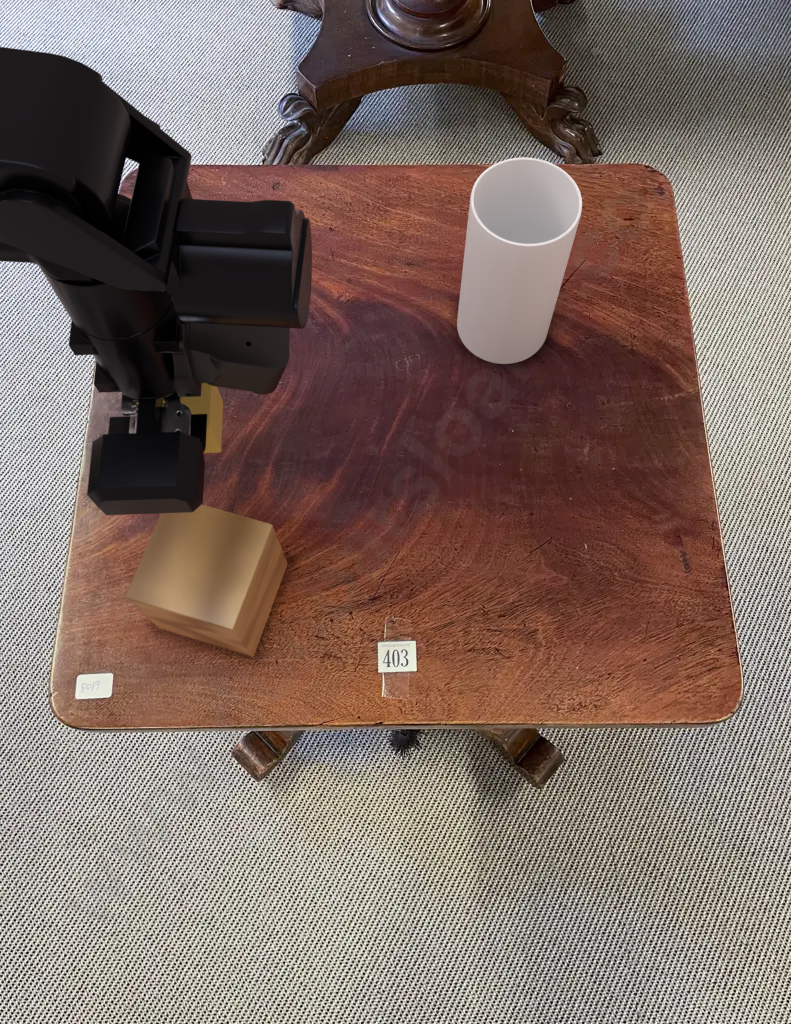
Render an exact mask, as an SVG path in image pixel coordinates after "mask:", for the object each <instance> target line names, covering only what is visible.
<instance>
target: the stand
mask: <svg viewBox="0 0 791 1024" xmlns="http://www.w3.org/2000/svg"><path fill="white" fill-rule="evenodd" d="M287 567H288V560H287V558H286V556H285V553H284V551H283V548H282V546H281V543H280V541H279V538H278V536H277V533H276V530H275V527H274V525H273V524H272V523H268V522H264V521H261V520H257V519H254V518H250V517H247V516H245V515H240V514H236V513H234V512H230V511H226V510H223V509H220V508H216V507H213V506H209V505H205V504H202V505H200V506H199V507H198V508H197V509H196V510H195V511H194V512H187V513H159V517H158V519H157V521H156V523H155V526H154V528H153V530H152V532H151V535H150V537H149V540H148V542H147V544H146V546H145V549H144V551H143V553H142V556H141V558H140V560H139V562H138V565H137V567H136V569H135V571H134V574H133V577H132V579H131V581H130V583H129V585H128V588H127V590H126V593H125V595H124V598H125V599H126V600H127V601H128V602H130V603H131V605H133V606H134V607H135V608H136V609H137V610H138V611H139V612H141V614H143V615H144V616H145V617H146V618H147V619H148V620H149V621H150V622H152V623H153V624H154V625H155V626H156V627H157V628H158V629H160V630H163V631H167V632H170V633H173V634H177V635H180V636H184V637H186V638H190V639H193V640H196V641H200V642H203V643H205V644H209V645H213V646H216V647H219V648H222V649H225V650H229V651H233V652H236V653H239V654H243V655H245V656H248V657H251V658H254V657H255V654H256V652H257V648H258V647H259V643H260V640H261V638H262V636H263V632H264V630H265V627H266V624H267V622H268V619H269V616H270V613H271V611H272V608H273V605H274V602H275V600H276V597H277V594H278V591H279V588H280V587H281V584H282V581H283V578H284V575H285V573H286V570H287Z"/></svg>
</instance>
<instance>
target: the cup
mask: <svg viewBox="0 0 791 1024" xmlns="http://www.w3.org/2000/svg"><path fill="white" fill-rule="evenodd" d="M469 197H470V198H469V205H468V215H467V216H468V217H467V225H466V234H465V243H464V245H465V246H464V253H463V261H462V269H461V270H462V273H461V281H460V290H459V298H458V310H457V319H456V328H457V334H458V336H459V339H460V340H461V342H462V344H463V345H464V347H465V348H466V349H467V350H468V352H470V353H471V354H473V355H474V356H475V357H477V358H479V359H481V360H484V361H486V362H488V363H492V364H499V365H509V364H516V363H520V362H523V361H526V360H527V359H529V358H531V357H532V356H533V355H535V354H536V353H537V352H539V350H540V349H541V348H542V346H543V345H544V343H545V342H546V339H547V337H548V333H549V329H550V325H551V322H552V319H553V315H554V312H555V309H556V305H557V301H558V297H559V294H560V290H561V287H562V284H563V280H564V277H565V274H566V268H567V266H568V263H569V259H570V255H571V252H572V249H573V245H574V241H575V238H576V234H577V230H578V227H579V223H580V221H581V216H582V210H583V198H582V193H581V190H580V188H579V186H578V185H577V183H576V181H575V180H574V179H573V178H572V176H571V175H569V173H567V172H566V170H564V169H563V168H561V167H559V166H558V165H557V164H554V163H552V162H550V161H547V160H545V159H540V158H535V157H513V158H508V159H504V160H501V161H498V162H496V163H494V164H492V165H490V166H489V167H488V168H486V169H485V170H484V171H483V172H482V173H481V174H480V175H479V176H478V178H477V179H476V180H475V182H474V184H473V187H472V190H471V192H470V196H469Z"/></svg>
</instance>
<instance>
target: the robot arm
mask: <svg viewBox="0 0 791 1024" xmlns="http://www.w3.org/2000/svg"><path fill="white" fill-rule="evenodd" d="M127 159H128V160H130V161H132V162H135V163H137V164H138V167H137V171H136V175H135V179H134V183H133V184H134V185H133V188H132V195H131V198H130V197H128V196H126V195H124V194H121V193H119V191H120V186H121V183H122V178H123V173H124V168H125V164H126V161H127ZM191 162H192V154H191V152H190V151H188V149H186V148H185V147H184V146H182V145H181V144H180V143H179V142H178V141H176V139H174V138H173V137H171V136H170V135H169V134H167V132H165V131H164V130H163V129H162V128H161V125H160V124H159V123H157V122H156V121H154V120H153V119H150V118H149V117H147V116H145V115H144V114H143V113H142V112H141V111H140V110H138V109H137V108H136V107H135V106H133V105H132V104H131V103H129V101H128V100H126V99H125V98H124V97H123V96H121V95H120V94H119V93H118V92H117V91H116V90H114V89H112V88H111V87H110V86H109V85H108V84H107V83H105V82H104V81H103V76H102V75H101V74H100V73H99V72H98V71H96V70H95V69H93V68H92V67H89V66H88V65H86V64H85V63H83V62H80V61H78V60H75V59H73V58H70V57H67V56H65V55H61V54H55V53H51V52H45V51H44V52H43V51H35V50H27V49H22V48H21V49H19V48H12V47H5V46H0V262H9V263H27V264H33V265H36V266H38V267H39V268H40V271H41V272H42V274H43V276H44V277H45V278H46V280H47V281H48V284H49V285H50V287H51V288H52V290H53V292H54V294H55V295H56V296H57V298H58V300H59V301H60V303H61V305H62V306H63V308H64V309H65V311H66V314H67V315H68V316H69V318H70V319H71V321H70V330H69V339H68V347H69V348H70V350H71V352H72V353H73V354H74V355H75V356H93V357H94V359H95V368H94V377H93V385H94V387H95V388H96V390H97V391H98V393H101V394H103V393H121V397H120V398H121V399H120V412H121V414H122V416H110V417H109V419H108V420H109V422H108V429H107V430H108V431H107V433H103V434H102V435H100V436H98V437H97V438H95V439H94V440H93V441H92V443H91V453H90V460H89V461H90V462H89V469H88V470H89V472H88V481H87V491H86V496H87V497H88V498H89V499H90V500H91V502H93V504H94V505H95V506H96V507H97V508H98V509H99V510H100V511H101V512H102V513H103V514H104V515H105V516H124V515H126V516H127V515H128V516H129V515H152V514H161V513H187V512H194V511H195V510H196V509H197V508H198V507H199V506H200V505H204V493H205V492H204V491H205V469H206V461H205V453H204V451H205V449H206V433H207V414H192V413H191V411H190V409H189V407H188V406H187V405H184V404H182V403H181V398H182V397H200V396H201V385H202V383H207V384H209V385H211V386H216V387H218V388H224V389H231V390H237V391H244V392H245V391H246V392H252V393H253V394H255V395H269V394H272V393H273V392H275V390H277V388H278V386H279V384H280V382H281V379H282V377H283V375H284V372H285V370H286V368H287V366H288V364H289V361H290V355H291V354H290V347H291V345H290V341H291V339H290V338H291V337H290V336H291V329H298V330H299V329H302V330H303V329H305V328H306V325H307V323H308V318H309V312H310V306H311V294H312V280H313V279H312V278H313V245H312V244H313V243H312V241H313V240H312V228H311V223H310V222H311V221H310V217H306V216H305V213H304V211H303V210H302V209H296V205H295V203H293V202H292V201H290V200H281V199H280V200H278V199H261V200H254V201H253V200H252V201H238V200H217V199H198V198H193V196H192V193H191V189H190V186H189V184H188V178H189V173H190V168H191ZM163 400H164V402H166V403H163ZM136 403H138V404H136ZM136 409H137V410H136ZM134 415H136V416H134Z"/></svg>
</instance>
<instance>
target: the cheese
mask: <svg viewBox="0 0 791 1024" xmlns="http://www.w3.org/2000/svg"><path fill="white" fill-rule="evenodd" d="M163 403H166V402H164V400H163ZM181 403H182V404H184V405H187V406H188V407H189V409H190V411H191V413H192V414H207V433H206V449H205V451H204V454H218V453H222V446H223V445H222V442H223V421H224V420H223V416H224V401H223V398H222V395H221V393H220V391H219V387H216V386H211V385H209V384H207V383H202V385H201V396H200V397H182V398H181ZM136 404H138V403H136ZM136 410H137V409H136ZM134 416H136V415H134Z"/></svg>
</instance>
